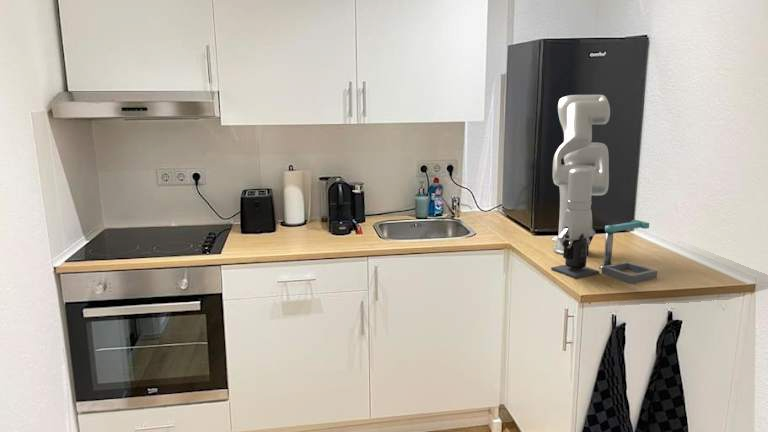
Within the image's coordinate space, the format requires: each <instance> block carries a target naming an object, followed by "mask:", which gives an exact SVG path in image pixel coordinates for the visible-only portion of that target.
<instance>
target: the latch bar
mask: <svg viewBox="0 0 768 432" xmlns="http://www.w3.org/2000/svg"><path fill="white" fill-rule="evenodd" d="M639 228H641V229H644V230H646V229H649V228H650V222H647V221H641V220H637V219H631V220H630V222H623V223H618V224H611V225H610V224H608V225H605V226H604V232H605V233H606V232H609V233H613V234H614V233H616V232H621V231H627V230H633V229H639Z"/></svg>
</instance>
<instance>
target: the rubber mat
mask: <svg viewBox="0 0 768 432" xmlns="http://www.w3.org/2000/svg"><path fill="white" fill-rule="evenodd" d="M550 269H551V271H554V272H557V273H558V274H561V275H565V276H566V277H570V278H573V279H580V278H585V277H588V276H589V277H590V276H593V275H599V274H600V270H596V269H594V268H590V267H588V266H587V265H586V266H585V267H584V268H570V267H568V266H566V264H562V265H558V266H552V267H551V268H550Z"/></svg>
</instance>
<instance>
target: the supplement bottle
mask: <svg viewBox="0 0 768 432" xmlns="http://www.w3.org/2000/svg"><path fill="white" fill-rule="evenodd" d="M567 243H569V240H568V242H567ZM571 248H572V259H571V260H568V259H565V258H564V259H565V260H564V261H565V262H564V265H566V266H568V267H570V268H584V267H585V266H586V267H587V261H588V260H587V259H588V258H587V257H588V256H587V241H586V240H585V239H584V236H583V233H582V234H581V236H580V237H579V239H578V240H574V241H573V243H572V246H571Z"/></svg>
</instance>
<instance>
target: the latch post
mask: <svg viewBox="0 0 768 432" xmlns="http://www.w3.org/2000/svg"><path fill="white" fill-rule="evenodd" d="M604 241H605V242H604V256H603V263H602V264H599V266H598V269H599V270H601V271H602V266H607V265H612V259H613V258H612V257H613V245H614V233H609V232H605V240H604Z"/></svg>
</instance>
